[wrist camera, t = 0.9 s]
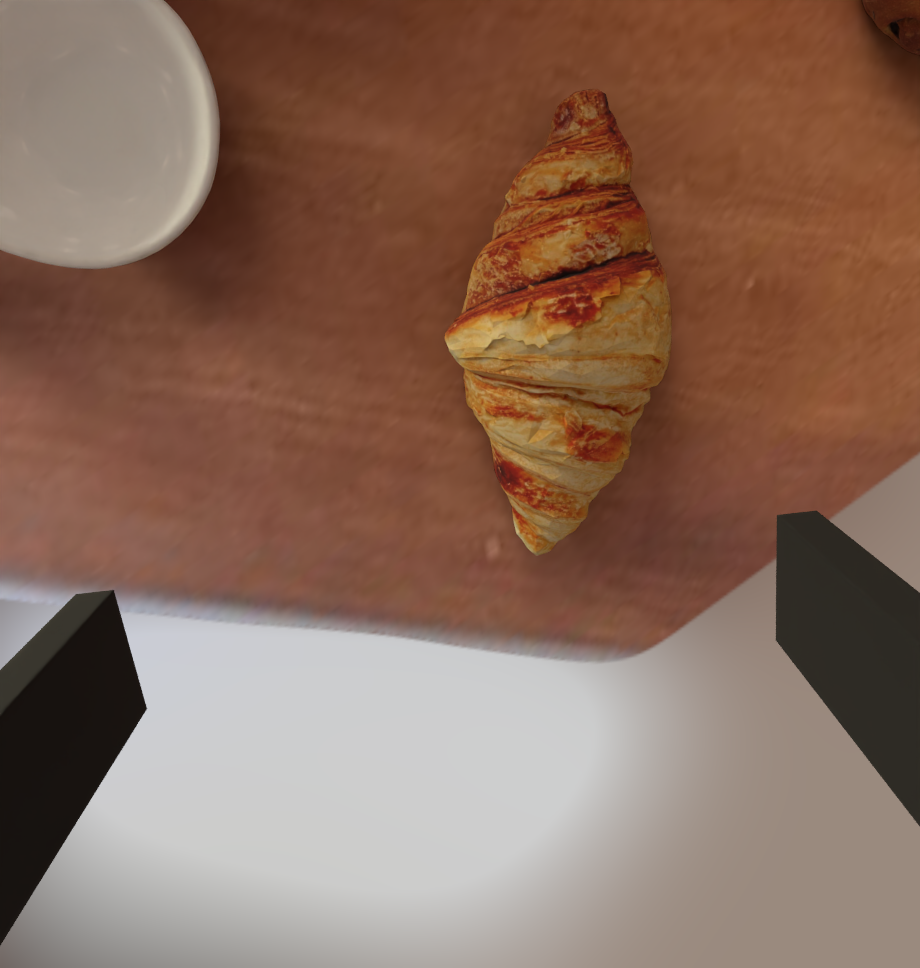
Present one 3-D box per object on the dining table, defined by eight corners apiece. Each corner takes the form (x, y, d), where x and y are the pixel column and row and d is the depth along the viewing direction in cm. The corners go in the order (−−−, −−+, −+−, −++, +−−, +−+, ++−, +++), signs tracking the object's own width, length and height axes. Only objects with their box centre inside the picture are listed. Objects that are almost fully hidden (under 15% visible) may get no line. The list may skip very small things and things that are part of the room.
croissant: (580, 516, 46) (679, 573, 39) (421, 545, 41) (503, 616, 34) (620, 106, 38) (749, 91, 32) (432, 85, 34) (539, 63, 27)
